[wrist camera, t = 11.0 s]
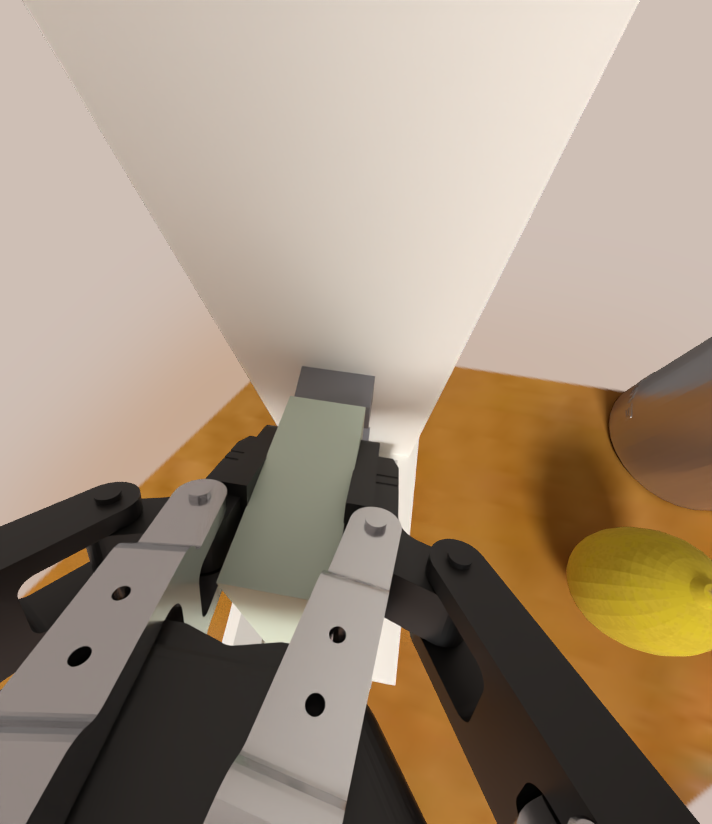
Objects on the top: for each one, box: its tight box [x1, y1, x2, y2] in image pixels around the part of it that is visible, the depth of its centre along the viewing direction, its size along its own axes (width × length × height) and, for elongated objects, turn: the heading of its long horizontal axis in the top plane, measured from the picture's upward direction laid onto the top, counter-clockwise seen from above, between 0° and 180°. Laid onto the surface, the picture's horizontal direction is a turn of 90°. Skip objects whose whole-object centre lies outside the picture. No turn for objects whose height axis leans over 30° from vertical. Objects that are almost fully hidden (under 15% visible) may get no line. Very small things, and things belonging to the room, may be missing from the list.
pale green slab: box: [216, 396, 366, 643], centre depth 14 cm, size 7×3×11 cm, turn 169°
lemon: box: [567, 527, 712, 656], centre depth 17 cm, size 6×6×8 cm
